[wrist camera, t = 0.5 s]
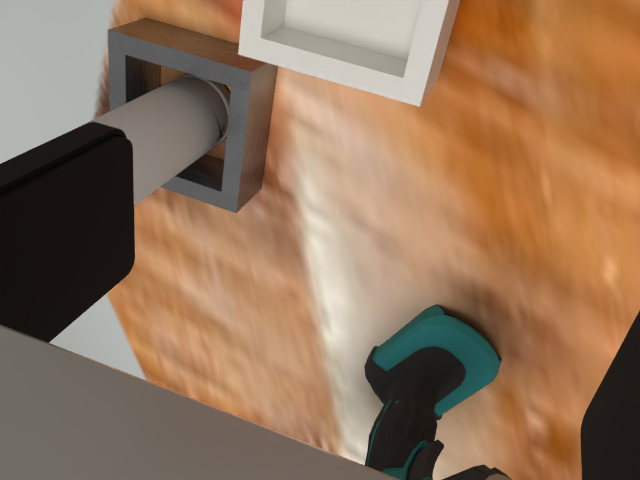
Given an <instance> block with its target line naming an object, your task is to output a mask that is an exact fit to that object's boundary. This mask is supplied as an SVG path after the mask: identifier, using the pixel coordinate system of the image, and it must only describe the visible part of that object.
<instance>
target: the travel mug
mask: <svg viewBox="0 0 640 480" xmlns="http://www.w3.org/2000/svg"><path fill="white" fill-rule="evenodd" d="M229 104H230V93H229V91H228V89H227V88H226V87H225V86H224V85H223V84H221V83H218V82H215V81H211V80H208V79H205V78H202V77H198V76H195V75H192V74H185V75H183V76H181V77H179V78H177V79H175V80H173V81H171V82H169V83H167V84H165V85H163V86H161V87H159V88H157V89H155V90H153V91H151V92H149V93H147V94H144V95H142V96H140V97H138V98H136V99H134V100H132V101H130V102H128V103H126V104H124V105H122V106H120V107H118V108H116V109H114V110H112V111H110V112H108V113H106V114H104V115H102V116H100V117H98V118H96V119H94V120H92V121H90V122H93V121H94V122H97V123H101V124H104V125H108V126H111V127H115V128H118V129H121V130H123V131H124V132H125V135H126V137H127V139H129V140H130V141H131V143H132V146H133V182H134V206H135V205H136V204H138V203H139V202H140V201H142V200H143V199H144V198H146V197H147V196H148V195H150V194H151V193H153V192H154V191H155V190H157V189H158V188H159V187H161V186H162V185H163V184H165V183H166V182H167V181H169V180H170V179H171V178H173V177H174V176H176V175H177V174H178V173H180V172H181V171H182V170H184V169H185V168H186V167H188V166H189V165H190V164H192V163H193V162H195V161H196V160H197V159H199V158H200V157H201V156H203V155H204V154H205V153H207V152H208V151H209V150H211V149H212V148H213V147H215V146H216V145H217V144H219V143H220V142H222V141H223V140H224V139H226V137H227V126H228V115H229ZM88 123H89V122H88ZM86 124H87V123H86ZM84 125H85V124H84ZM82 126H83V125H82Z"/></svg>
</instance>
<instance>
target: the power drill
mask: <svg viewBox="0 0 640 480" xmlns="http://www.w3.org/2000/svg"><path fill="white" fill-rule="evenodd" d="M501 361H502V360H499V359H498V356H497V353H496V352H495V351H494V349H493V348H492V347H491V345H490V344H489V343H488V341H486V340H485V339H484V338H483V337H482V336H481V335H480V334H479V333H478V332H477V331H475V330H474V329H473V328H471V327H470V326H469V325H467V324H465V323H463V322H462V321H460V320H458V319H456V318H454V317H450V316H447V315H444V311H443V310H442V309H441V308H440V307H439V306H438V305H434V306H432V307H429V308H427V309H425V310H424V311H423V312H422V313H421V314H419V315H418V316H417V317H416V318H414V319H413V320H412V321H411V322H409V323H408V324H407V325H406V326H404V327H403V328H402V329H401V330H400V331H398V332H397V333H396V334H395V335H393V336H392V337H391V338H390V339H388V340H387V341H386V342H385V343H383V344H382V345H381V346H380V347H377V346H376V347H374V348H373V350H372V351H371V353H370V355H369V357H368V359H367V361H366V364H365V366H364V367H365V376H366V379H367V380H368V382H369V383H370V385H371V387H372V389H373V391H374V392H375V394H376V395H377V396H378V397H379V399H380V400H381V402H382V403H383V404H384V406H383V408H382V409H381V411H380V413H379V415H378V417H377V418H376V420H375V423H374V425H373V427H372V430H371V432H370V435H369V442H368V452H367V457H366V462H365V466H367V467H370V468H372V469H375V470H377V471H380V472H382V473H385V474H387V475H390V476H393V477H395V478H398V479H400V480H433V477H432V475H433V469H434V465H435V462H436V460H437V458H438V456H439V454H440V453H441V451H442V449H443V448H444V444H443V443H441V442H440V441H439V440H436V441H434V440H435V434H436V429H437V421H436V420H440V419H441V418H442V414H443V413H445V412H446V411H448V410H449V409H451V408H453V407H454V406H456V405H457V404H459V403H460V402H462V401H463V400H465V399H466V398H468V397H469V396H471V395H472V394H474V393H475V392H477V391H479V390H480V389H482V388H483V387H485V386H486V385H488V384H489V383H491V382H492V381H493V380H494V379H495V377H496V375H497V374H498V370H499V366H500V363H501ZM443 480H511V479H510V478H509V477H508V476H507V475H506V474H505V473H503V472H502V471H500V470H498V469H497V468H492V469H490V468H488V467H487V466H485V465H480V466H475V467H472V468H470V469H467V470H465V471H462V472H460V473H457V474H455V475H452V476H450V477H447V478H445V479H443Z"/></svg>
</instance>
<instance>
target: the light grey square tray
mask: <svg viewBox="0 0 640 480" xmlns="http://www.w3.org/2000/svg"><path fill="white" fill-rule="evenodd" d="M459 4H460V0H243V8H242V18H241V29H240V40H239V50H238V54H239V55H242V56H245V57H249V58H252V59H256V60H259V61H263V62H266V63H270V64H273V65H277V66H280V67H284V68H287V69H291V70H294V71H298V72H301V73H304V74H308V75H311V76H315V77H318V78H322V79H325V80H329V81H332V82H336V83H339V84H343V85H346V86H350V87H353V88H357V89H360V90H363V91H367V92H370V93H374V94H377V95H381V96H384V97H388V98H391V99H395V100H398V101H402V102H405V103H409V104H412V105H415V106H419V107H420V106H421V104H422V103H423V101H424V100H425V98H426V97H427V95H428V94H429V93H430V91H431V90H432V88H433V87H434V85H435V84H436V82H437V81H438V78H439V74H440V71H441V67H442V64H443V60H444V57H445V53H446V50H447V46H448V43H449V39H450V36H451V32H452V28H453V25H454V21H455V18H456V14H457V11H458V7H459Z"/></svg>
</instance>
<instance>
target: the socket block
mask: <svg viewBox="0 0 640 480" xmlns="http://www.w3.org/2000/svg"><path fill="white" fill-rule="evenodd" d="M108 50H109V94H110V111H112V110H114V109H116V108H118V107H120V106H122V105H124V104H126V103H128V102H130V101H132V100H134V99H136V98H138V97H140V96H142V95H144V94H147V93H149V92H151V91H153V90H155V89H157V88H159V87H160V65H162V66H165V67H168V68H172V69H175V70H178V71H182V72H185V73H188V74H192V75H195V76H198V77H202V78H205V79H208V80H211V81H215V82H218V83H221V84H225V85H228V86H231V93H230V104H229V115H228V126H227V137H226V148H225V159H224V161H223V160H220V159H217V158H214V157H211V156H208V155H205V154H204V155H203V156H201V157H200V158H199V159H197V160H196V161H195V162H193V163H192V164H190V165H189V166H188V167H186V168H185V169H184V170H182V171H181V172H180V173H178V174H177V175H176V176H174V177H173V178H171V179H170V180H169V181H167V182H166V183H165V184H163V185H162V186H161V187H162V188H165V189H168V190H171V191H174V192H177V193H179V194H182V195H185V196H188V197H191V198H194V199H197V200H200V201H203V202H206V203H208V204H211V205H214V206H217V207H220V208H223V209H226V210H229V211H232V212H235V213H237V212H238V211H239V210H240V209H241V208H242V207H243V206H244V205H245V204H246V203H247V202H248V201H249V200H250V199H251V198H252V197H253V196H254V195H255V194H256V193H257V192H258V191H259V190H260V189H261V188H262V180H263V173H264V165H265V157H266V150H267V142H268V135H269V127H270V119H271V112H272V104H273V97H274V89H275V82H276V74H277V65H273V64H270V63H266V62H263V61H259V60H256V59H252V58H249V57H245V56H242V55H239V54H238V50H239V44H235V43H232V42H228V41H225V40H221V39H217V38H214V37H210V36H207V35H203V34H200V33H196V32H193V31H189V30H186V29H182V28H179V27H175V26H172V25H168V24H165V23H161V22H158V21H154V20H151V19H147V18H144V19H141V20H138V21H135V22H131V23H128V24H125V25H122V26H119V27H116V28H113V29H109V30H108Z"/></svg>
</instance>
